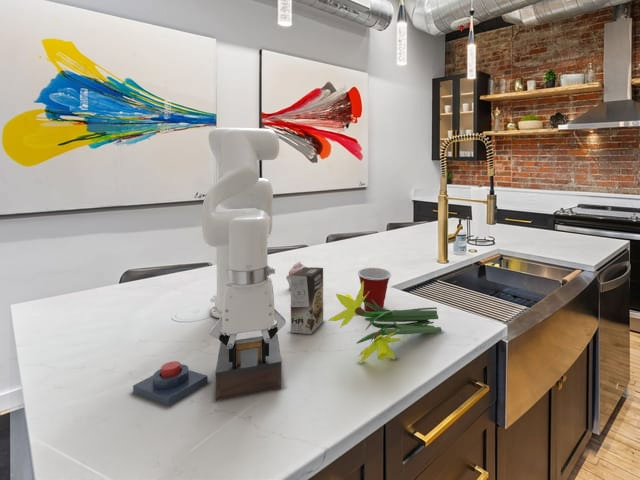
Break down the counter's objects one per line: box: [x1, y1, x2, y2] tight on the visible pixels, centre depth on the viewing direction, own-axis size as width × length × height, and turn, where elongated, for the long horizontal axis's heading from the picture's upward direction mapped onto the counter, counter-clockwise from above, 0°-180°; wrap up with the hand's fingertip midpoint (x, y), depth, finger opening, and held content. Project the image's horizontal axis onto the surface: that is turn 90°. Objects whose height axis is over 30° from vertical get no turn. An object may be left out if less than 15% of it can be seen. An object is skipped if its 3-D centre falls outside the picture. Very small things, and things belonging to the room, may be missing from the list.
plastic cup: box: [357, 267, 392, 312], centre depth 130 cm, size 11×11×12 cm
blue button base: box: [132, 363, 209, 407], centre depth 85 cm, size 11×9×4 cm
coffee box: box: [290, 266, 324, 335], centre depth 116 cm, size 9×6×16 cm
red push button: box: [160, 360, 182, 378], centre depth 85 cm, size 4×4×2 cm
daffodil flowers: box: [327, 281, 442, 364], centre depth 102 cm, size 17×15×35 cm
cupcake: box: [285, 261, 307, 291], centre depth 150 cm, size 9×9×10 cm
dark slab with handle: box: [214, 333, 282, 379], centre depth 89 cm, size 14×13×6 cm
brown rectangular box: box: [215, 366, 282, 402], centre depth 89 cm, size 14×13×5 cm
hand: (249, 361), depth 84 cm, fingers closed on dark slab with handle, 5 cm apart
